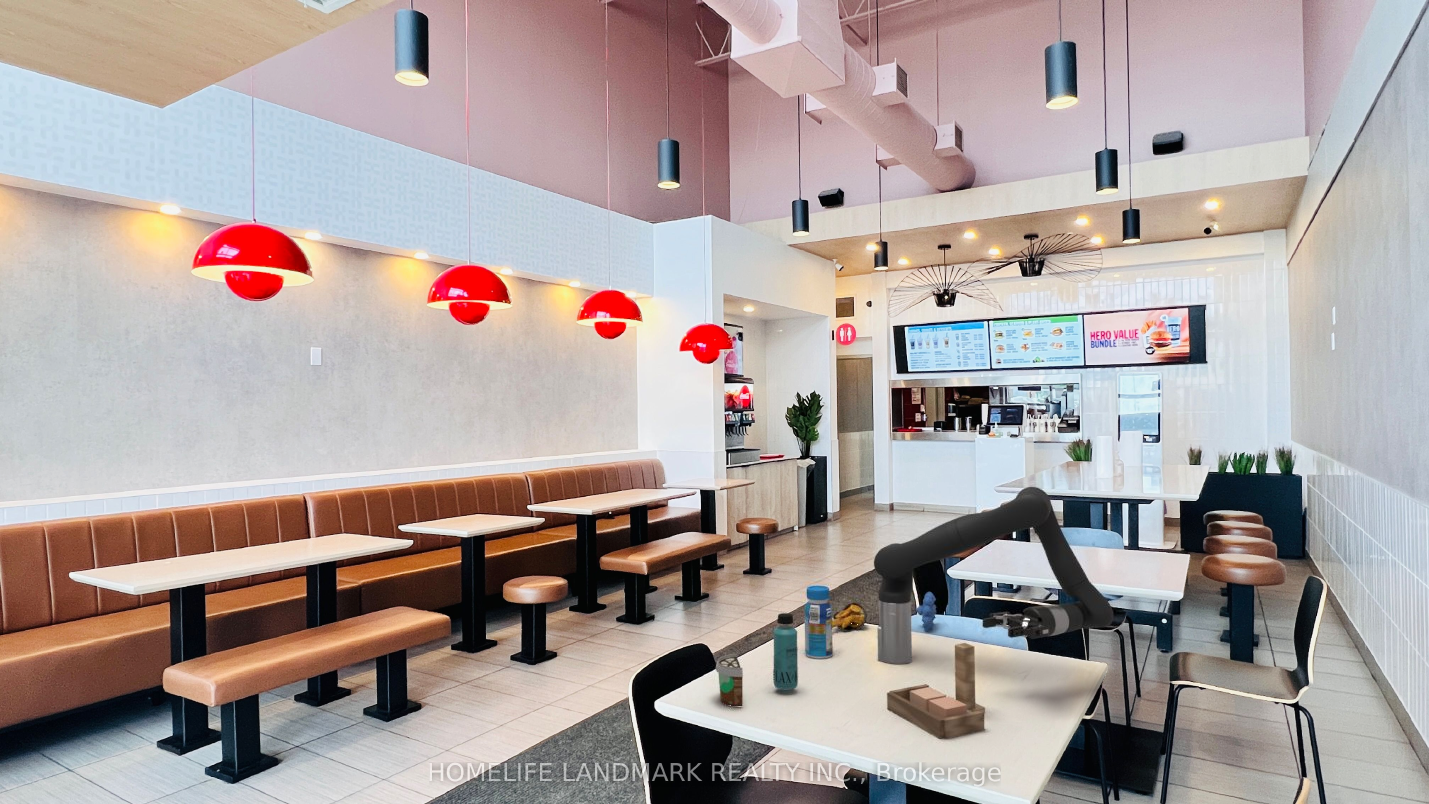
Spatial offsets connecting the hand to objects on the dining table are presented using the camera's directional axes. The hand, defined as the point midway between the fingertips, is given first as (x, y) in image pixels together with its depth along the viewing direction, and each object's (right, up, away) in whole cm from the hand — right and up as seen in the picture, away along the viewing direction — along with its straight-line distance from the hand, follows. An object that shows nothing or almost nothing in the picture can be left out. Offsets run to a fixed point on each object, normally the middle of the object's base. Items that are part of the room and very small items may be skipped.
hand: (995, 628), depth 195 cm
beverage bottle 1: (-50, -20, +12) cm, 55 cm away
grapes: (+1, -20, +67) cm, 70 cm away
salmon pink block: (-15, -19, -11) cm, 27 cm away
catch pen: (-17, -19, -7) cm, 26 cm away
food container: (-66, -20, +6) cm, 69 cm away
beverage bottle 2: (-38, -20, +41) cm, 59 cm away
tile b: (-18, -19, -4) cm, 27 cm away
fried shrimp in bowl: (-26, -20, +67) cm, 74 cm away
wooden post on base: (-9, -19, -4) cm, 21 cm away
